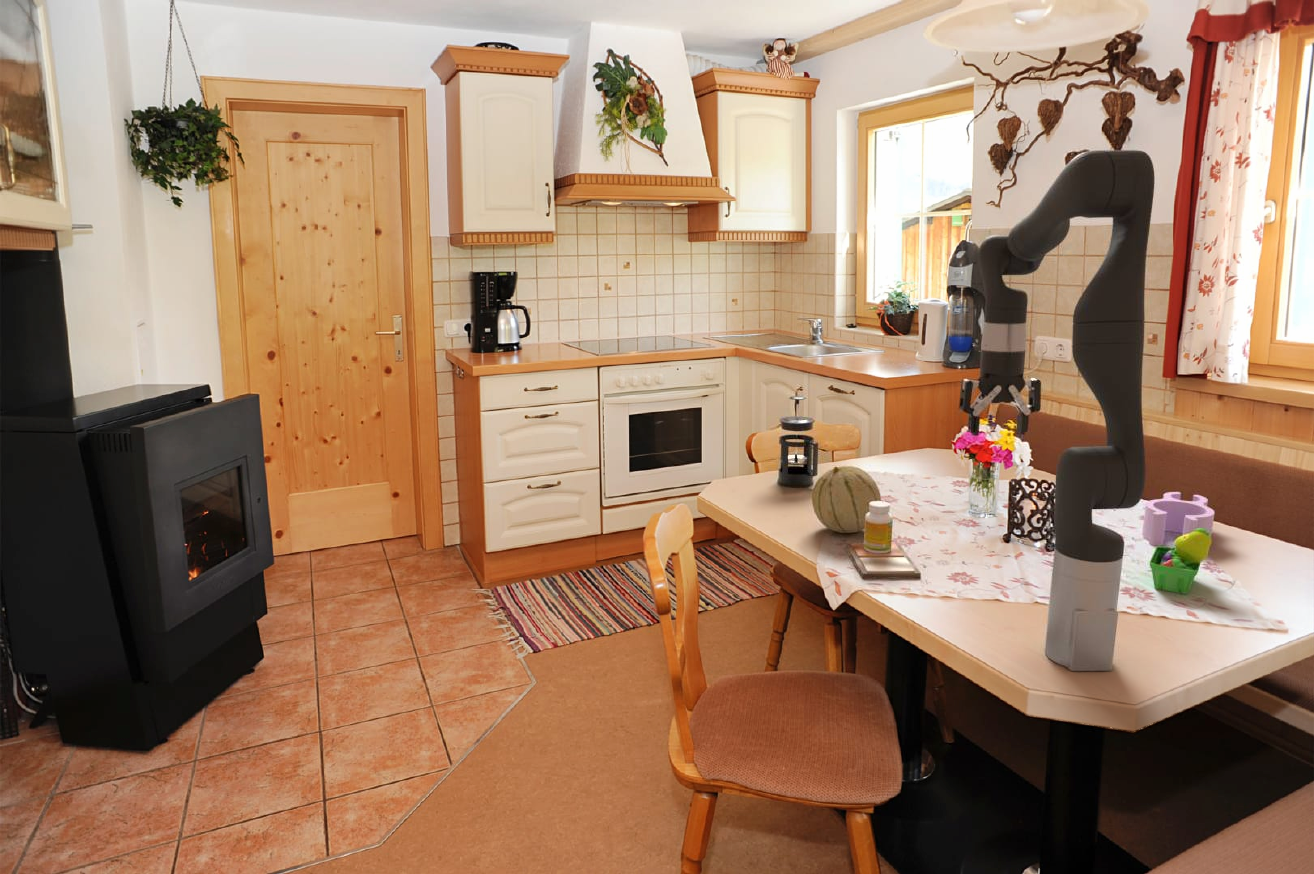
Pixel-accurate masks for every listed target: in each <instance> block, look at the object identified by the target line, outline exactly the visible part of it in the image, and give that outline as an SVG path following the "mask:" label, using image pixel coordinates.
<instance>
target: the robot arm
mask: <svg viewBox="0 0 1314 874" xmlns="http://www.w3.org/2000/svg"><path fill="white" fill-rule="evenodd" d="M1155 178H1156V177H1155V169H1154V164H1153V161H1152V159H1151V157H1150V155H1149V154H1148V153H1146V151H1142V150H1137V149H1136V150H1135V149H1132V150H1131V149H1127V150H1126V149H1124V150H1123V149H1118V150H1117V149H1116V150H1115V149H1114V150H1111V149H1109V150H1103V149H1102V150H1090V151H1084V152H1081V153H1078V154H1077V155H1076V156H1074V157H1073V158H1072V159H1071V160H1070V161H1069V162H1068V163H1067V164H1066V165H1065V166H1064V168H1063V169H1062V170H1061V172H1060V173H1059V175H1057V177H1056V178H1055V180H1054V182H1053V183H1052V185H1050V187H1049V188H1048V189H1047V191H1046V193H1045V194H1044V196H1043V197H1042V198H1041V200H1040V202H1039V203H1038V204H1037V205H1036V206H1035V208H1034V209H1032V210H1031V212H1029V213H1028V214H1027V215H1025V216H1024V217H1023V218H1022V219H1021V220H1019V222H1017V223H1016V224H1015V225H1014V226H1013V227H1012V228H1011V230H1010V231H1009V233H1008V234H1007V235H1006V234H1004V235H1003V234H1002V235H1001V234H1000V235H999V234H998V235H990V236H987V237H986V238H985V239H984V240H983V241H982V242H981V244H980V245H979V248H978V253H977V261H978V267H979V270H980V276H981V278H982V279H981V280H982V284H983V289H984V297H985V307H984V308H985V309H984V310H985V311H984V324H983V329H982V334H981V342H980V346H981V347H980V348H981V349H980V365H979V376H978V377H979V378H978V379H977V380H971V379H970V380H969V379H966V378H963V379H962V380H961V384H960V392H959V393H960V395H959V402H958V410H959V411H961V412H963V413H965V414H967V415H968V424H967V430H968V432H969V433H970V434H971V436H974V437H978V436H979V434H980V420H981V417H980V416H979V415H980V414H981V412H983V410H984V409H986V408H987V407H988V406H989V405H990V403H991V404H1001V403H1004V404H1012V405H1014V407H1015V408H1016V409H1017V411H1018V412H1019V413H1017V415H1016V426H1015V427H1016V428H1015V429H1016V430H1015V432H1016V434H1017V435H1018V436H1025V434H1026V433H1027V432H1028V430H1029V418H1030V415H1031V414H1034V413H1035V412H1036V413H1038V412H1040V411H1041V406H1042V405H1041V402H1042V400H1041V399H1042V394H1041V393H1042V382H1041V379H1038V378H1034V377H1031V378H1029V379H1025V378H1024V372H1025V364H1026V362H1025V361H1026V350H1027V347H1026V346H1027V335H1028V334H1027V314H1028V303H1029V300H1028V294H1027V292H1026V291H1024V290H1022V289H1017V288H1013V287H1008V286H1007V285H1006V283H1005V281H1004V278H1003V276H1024V275H1025V276H1027V275H1029V274H1033V273H1035V272H1036V271H1038V269H1039V268H1040V266H1041V263H1042V262H1043V260H1044V258H1045V256H1046V255H1047V254H1048V253H1050V252H1052V251H1053V250H1054V249H1055V248H1057V247H1058V246H1059V245H1060V244H1061V243H1062V242H1063V241H1064V240H1065V239H1066V237H1067V236H1068V234H1069V231H1070V226H1071V219H1074V218H1078V217H1079V218H1081V217H1082V218H1085V219H1095V218H1096V219H1097V218H1098V219H1099V218H1101V219H1102V218H1103V219H1104V218H1109V219H1110V218H1112V227H1111V228H1112V229H1111V236H1110V242H1109V248H1108V250H1107V253H1106V255H1105V257H1104V259H1103V261H1102V263H1101V265H1100V267H1099V268H1098V270H1097V271H1096V273H1095V274H1094V276H1093V277H1092V279H1091V281H1089V283H1088V285H1087V286H1086V288H1085V289H1084V291H1083V293H1082V294H1081V296H1080V297H1079V299H1078V301H1077V303H1076V305H1075V307H1074V311H1073V315H1072V316H1073V317H1072V323H1073V324H1072V340H1071V341H1072V345H1071V347H1072V350H1071V351H1072V352H1071V353H1072V358H1073V361H1074V364H1075V366H1076V368H1077V370H1078V372H1079V374H1080V375H1081V377H1082V379H1083V380H1084V382H1085V383H1086V385H1087V386H1088V388H1089V389H1090V391H1091V392H1092V394H1093V395H1094V397H1095V399H1096V400H1097V403H1098V404H1099V406H1100V409H1101V410H1102V411H1101V412H1102V413H1103V417H1104V422H1105V430H1106V431H1105V432H1106V445H1105V446H1104V445H1103V446H1101V445H1100V446H1071V447H1069V448H1067V449H1065V450H1064V451H1063V452H1062V453H1061V455H1059V456H1060V457H1059V459H1058V462H1057V465H1056V473H1055V490H1054V491H1055V493H1054V515H1053V526H1054V527H1053V528H1054V538H1055V539H1054V540H1055V541H1054V550H1053V551H1054V553H1053V559H1052V560H1053V561H1052V568H1051V569H1052V571H1051V579H1050V580H1051V581H1050V591H1049V601H1048V612H1047V624H1046V636H1045V644H1044V645H1045V646H1044V653H1045V655H1046V657H1047V658H1048V659H1050V660H1051V661H1053V662H1054V663H1056V664H1058V665H1060V666H1064V667H1066V668H1067V669H1068V670H1069V671H1071V672H1077V671H1078V672H1080V671H1081V672H1082V671H1083V672H1085V671H1086V672H1091V671H1094V672H1096V671H1097V672H1098V671H1100V672H1101V671H1102V672H1103V671H1105V672H1106V671H1113V662H1114V661H1113V660H1114V652H1115V645H1116V636H1117V627H1118V619H1119V612H1118V611H1117V610H1118V601H1119V593H1120V584H1121V576H1122V567H1123V559H1124V551H1125V540H1124V538H1123V536H1122V535H1121V534H1119V533H1118V532H1117V531H1115V530H1113V529H1111V528H1108V527H1105V526H1104V525H1103V526H1102V525H1099V524H1096V523H1094V522H1093V510H1118V509H1119V510H1121V509H1123V510H1124V509H1131V508H1134V507H1136V506H1137V505H1138V504H1139V503H1140V501H1141V499H1142V497H1143V495H1144V492H1145V491H1144V490H1145V486H1146V475H1147V471H1146V454H1145V453H1146V452H1145V451H1146V450H1145V439H1144V437H1145V435H1144V424H1143V405H1142V404H1143V402H1142V401H1143V400H1142V399H1143V398H1142V397H1143V396H1142V395H1143V394H1142V393H1143V387H1142V386H1143V362H1144V361H1143V358H1144V348H1145V347H1144V346H1145V345H1144V344H1145V319H1146V318H1145V317H1146V316H1145V286H1146V285H1145V284H1146V282H1145V281H1146V263H1147V253H1148V252H1147V251H1148V243H1149V235H1150V227H1151V219H1152V210H1153V203H1154V195H1155ZM976 388H978V390H979V391H980V393H979V394H978V395H977V396H976V398H975V399H974V402H973V403H972V395H973V393H974V391H976ZM1024 388H1025V389H1026V390H1027V391H1028V402H1027V403H1028V404H1026V400H1025V399H1024V398H1023V396H1022V395H1021V394H1020V393H1021V392H1022V390H1023V389H1024ZM971 403H972V404H971Z"/></svg>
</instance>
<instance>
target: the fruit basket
mask: <svg viewBox="0 0 1314 874" xmlns="http://www.w3.org/2000/svg"><path fill="white" fill-rule="evenodd" d="M1182 535H1183V534H1182ZM1182 535H1181V536H1178V537H1177V538H1176V539H1175V540H1174V546H1173V547H1169V546H1160V545H1157V546H1155V550H1154V552H1153V554H1152V556H1151V558H1150V560H1149V566H1150V568H1151V573H1152V574H1151V575H1152V580H1153V585H1154V589H1156V590H1163V591H1166V592H1171V593H1172V592H1173V593H1177V594H1179V593H1180V594H1183V595H1188V593H1189V591H1190V588H1191V587H1192V584H1193V581H1194V579H1195V577H1196V576H1197V575H1198V572H1199V571H1200V570H1199V569H1200V566H1201V563H1202V562H1203V561H1204V560H1205V559H1206V558H1207V557H1208V554H1209V550H1210V548H1211V545H1212V543H1213V541H1212V536H1211V537H1210V536H1209V535H1210V533H1209V532H1208V531H1207V530H1205V529H1202V528H1198V529H1195V530H1194V531H1193V532H1192V533H1190V534H1186V535H1183V536H1182Z"/></svg>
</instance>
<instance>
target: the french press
mask: <svg viewBox="0 0 1314 874" xmlns="http://www.w3.org/2000/svg"><path fill="white" fill-rule="evenodd" d="M788 399H789V400H793V401H794V400H795V405H796V415H794V416H785V417H781V418H780V419H779V422H780V428H781V429H782V430H785V431H788V432H795V434H793V433H792V434H785V435H781V436H779V438H778V441H779V442H778V443H779V445H780V458H779V460H780V468H779V469H778V476H777V477H778V479H777V484H778V485H780V486H782V487H787V488H796V489H798V488H806V487H811V486H813V485H814V484H815V483H814V477H816V476H818V465H819V464H818V463H819V443H818V441H817V442H816V441H815V437H813V436H810V435H807V434H798V432H807V431H812V430H813V429H814V428H813V427H814V426H813V425H814V424H813V423H815V421H816V420H815V419H814V418H812V417H808V416H799V405H800V401H802V400H806V397H805V396H803V395H792V396H789V398H788ZM789 440H795V441H789ZM798 440H800V441H798ZM801 440H802V441H801ZM789 448H795V454H791V455H790V454H789ZM798 448H803V455H800V454H799V455H798Z"/></svg>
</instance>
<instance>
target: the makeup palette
mask: <svg viewBox="0 0 1314 874" xmlns="http://www.w3.org/2000/svg"><path fill="white" fill-rule="evenodd" d="M846 549H847V550H846ZM845 550H846V552H847V554H848V553H849V554H848V556H849V557H850V559H851V558H852V559H851V561H852V560H853V561H852V563H853V562H854V563H855V564H854V563H853V564H854V566H855V567H857V568H856V570H857V569H858V570H859V571H858V570H857V571H858V573H859V575H860V577H861V576H862V577H861V578H862V579H921V576H922V573H921V571H920V570H919V568H918V567H917V565H916V564H915V563H914V561H913V560H912V559H911V558H910V557H909V555H908V553H907V552H906V551H905V550H904V548H903V547H902V546H901V544H900V543H895V542H893V543H891V551H890V552H888V553H882V554H877V553H871V552H868V551H866V550H865V549H864V542H863V543H846V544H845Z"/></svg>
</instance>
